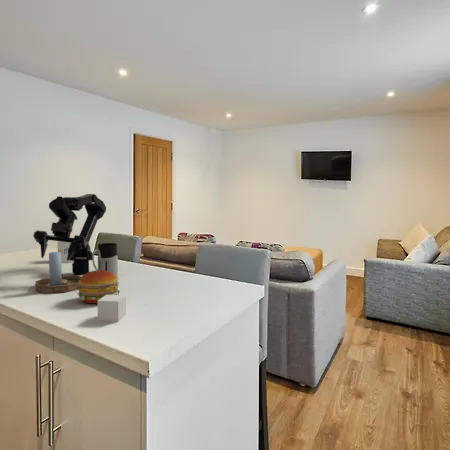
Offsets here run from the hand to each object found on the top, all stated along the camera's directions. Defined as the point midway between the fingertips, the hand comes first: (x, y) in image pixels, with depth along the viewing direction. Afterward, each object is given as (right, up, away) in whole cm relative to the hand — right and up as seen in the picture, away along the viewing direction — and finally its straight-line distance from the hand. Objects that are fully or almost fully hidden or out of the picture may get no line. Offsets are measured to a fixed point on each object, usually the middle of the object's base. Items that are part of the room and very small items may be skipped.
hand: (54, 258), depth 133 cm
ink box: (-18, -7, +50) cm, 54 cm away
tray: (+3, -11, 0) cm, 11 cm away
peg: (+3, -10, -5) cm, 12 cm away
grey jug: (+16, -10, +10) cm, 21 cm away
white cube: (+33, -14, -33) cm, 48 cm away
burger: (+23, -13, -15) cm, 30 cm away
